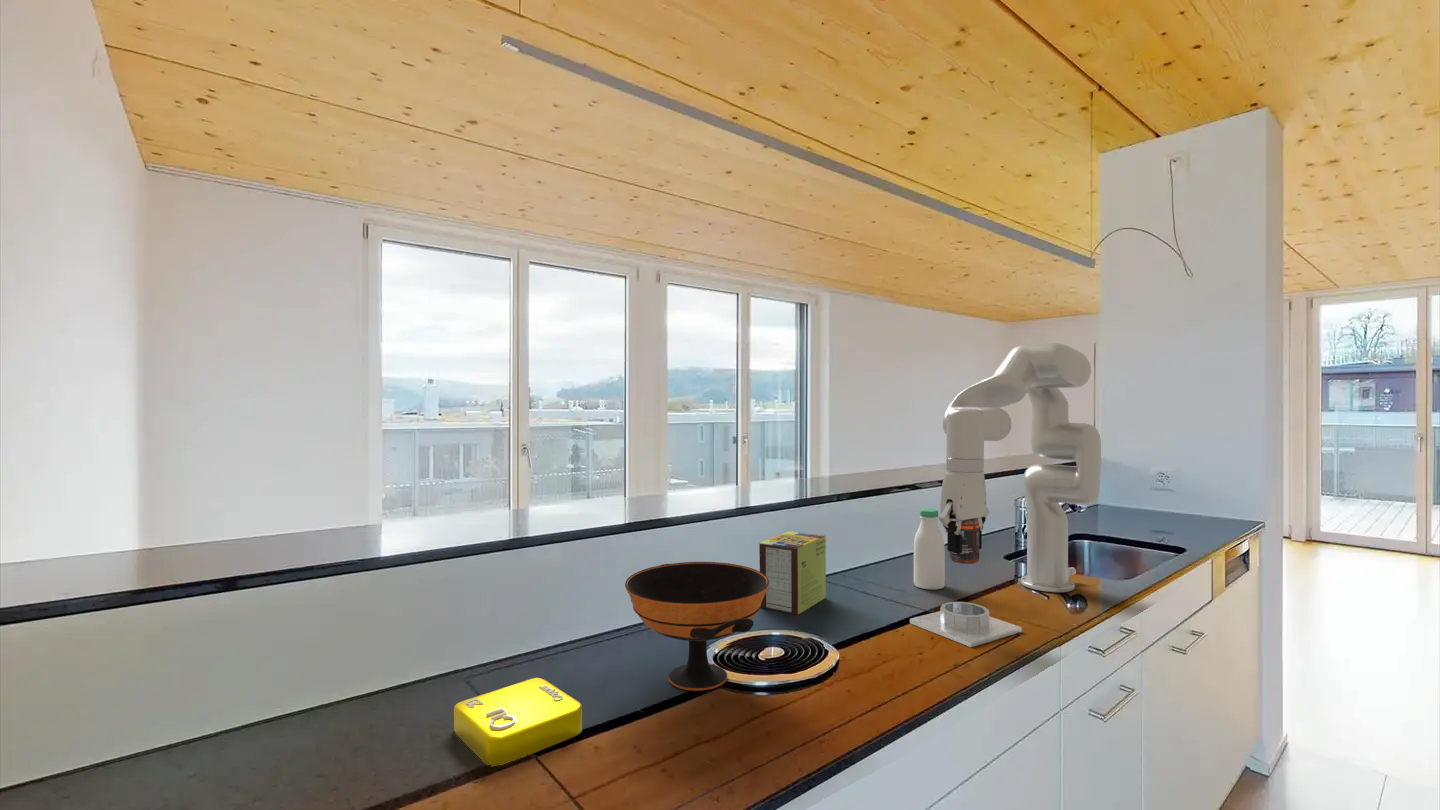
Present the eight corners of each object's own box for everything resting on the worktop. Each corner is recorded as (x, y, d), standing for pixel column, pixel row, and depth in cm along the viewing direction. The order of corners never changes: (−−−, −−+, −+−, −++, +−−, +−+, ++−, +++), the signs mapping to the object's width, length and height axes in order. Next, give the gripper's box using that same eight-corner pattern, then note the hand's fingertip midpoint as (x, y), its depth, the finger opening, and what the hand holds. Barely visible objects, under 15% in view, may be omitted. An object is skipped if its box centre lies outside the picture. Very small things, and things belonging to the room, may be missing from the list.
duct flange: (959, 610, 154) (959, 593, 154) (1021, 631, 140) (1021, 613, 140) (909, 623, 146) (909, 605, 146) (970, 647, 132) (970, 627, 132)
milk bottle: (948, 590, 169) (948, 512, 169) (918, 590, 169) (918, 512, 169) (939, 581, 177) (939, 506, 176) (910, 581, 177) (910, 507, 177)
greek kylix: (812, 708, 107) (812, 599, 107) (661, 742, 97) (660, 622, 97) (722, 633, 140) (722, 550, 140) (603, 653, 130) (602, 563, 130)
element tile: (587, 734, 100) (587, 702, 100) (491, 773, 90) (491, 738, 90) (540, 700, 112) (539, 672, 111) (449, 732, 101) (449, 701, 101)
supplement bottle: (973, 557, 145) (974, 506, 145) (983, 565, 139) (983, 511, 139) (946, 557, 146) (946, 506, 146) (954, 564, 140) (954, 511, 140)
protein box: (826, 597, 164) (826, 535, 164) (798, 615, 151) (798, 547, 151) (788, 590, 170) (788, 530, 169) (758, 607, 157) (758, 542, 157)
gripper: (974, 462, 150) (974, 541, 150) (923, 467, 141) (923, 552, 141) (1004, 465, 144) (1004, 548, 144) (953, 470, 134) (953, 559, 135)
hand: (964, 549), depth 142 cm, fingers closed on supplement bottle, 6 cm apart
